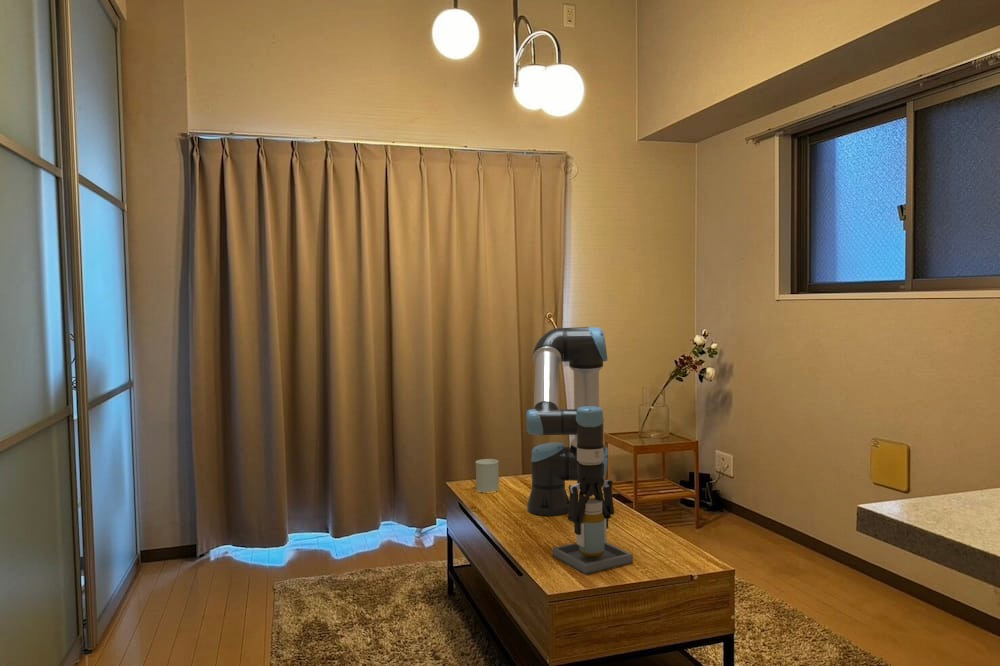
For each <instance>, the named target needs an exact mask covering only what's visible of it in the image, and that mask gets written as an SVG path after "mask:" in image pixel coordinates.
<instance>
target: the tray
mask: <svg viewBox="0 0 1000 666" xmlns="http://www.w3.org/2000/svg"><path fill="white" fill-rule="evenodd" d="M552 558H554V559H556V560H558V561H559V562H562V563H563V564H565V565H567V566H568V567H571V568H573V570H576V571H578V572H580V573H581V574H583V575H585V576H587V575H592V574H596V573H598V572H603V571H607V570H610V569H611V570H612V569H615V567H616V568H619V567H623V565H624V566H627V564H628V565H631V564H630V563H632V564H634V563H633V558H634V557H633V553H631V552H628V551H626V550H625V549H622V548H619V547H618V546H615V545H613V544H611V543H609V542H604V553H603V555H602V556H600V557H586V556H583V555H582V554H581V553H580V549H579V545H577V542H574V543H569V544H563V545H560V546H556V547H552Z"/></svg>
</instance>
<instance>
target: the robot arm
mask: <svg viewBox="0 0 1000 666" xmlns="http://www.w3.org/2000/svg"><path fill="white" fill-rule="evenodd" d="M607 351H608V350H607V345H606V338H605V333H604V330H603V329H602V328H601V327H596V326H595V327H593V326H584V327H583V326H580V327H579V326H578V327H556V328H554V329H551V330H549V331H547V332H546V333H544V335H542V336H541V338H540V339H539V340H538V341H537V342H536V344H535V346H534V349H533V352H532V361H533V365H535V372H534V373H535V374H534V393H533V394H534V395H533V396H534V398H533V400H534V401H533V408H532V409H528V410H526V415H525V416H526V417H525V419H526V425H525V426H526V431H527V434H529V435H532V436H534V435H536V436H559V435H561V436H562V435H565V436H569V435H570V436H574V438H573V439H572V440H571V441H570V446H566V445H565V443H564V442H561V441H560V442H558V441H557V442H556V441H555V442H554V441H553V442H544V443H541V444H538V445H536V446H534V447H533V448H532V450H531V459H530V462H531V490H530V494H529V496H528V497H529V498H528V501H527V508H526V509H527V512H529V511H530V512H532V513H531V514H533V513H534V515H536V514H539V515H538V516H543V515H546V516H547V517H549V516H550V517H552V516H553V517H554V516H555V517H556V516H560V515H564V514H567V520H568V521H569V522H571V523H573V524H574V525H573V526H574V527H573V528H574V532H573V533H574V534H576V543H577V545H579V546H581V547H585V543H584V523H582V519H583V515H584V512H585V508H586V503H587V501H588V500H589V498H591V497H592V496H593V498H595V499H597V500H599V501H601V500H602V513H603V516H604V542H607V538H608V537H607V535H608V534H607V533H608V532H607V529H609V520H610V519H611V518H612V516H611V515H614V514H615V508H614V500H613V499H614V498H613V489H612V488H613V480H610V479H607V478H606V475H607V470H608V464H609V463H608V462H609V459H608V458H609V448H608V447H606V446H605V442H604V423H605V421H604V420H605V418H604V410H603V408H602V407H600V371H601V370H602V368H603V367H604V362H607V361H608V352H607ZM562 362H565V363H566V362H567V363H568V362H569V363H568V366H569V368H570V369H571V370H572V372H573V396H574V397H573V399H574V400H573V401H574V402H573V403H574V404H573V406H574V407H573V408H574V409H573V408H571V409H568V408H567V409H563V408H561V409H559V366H560V364H561V363H562ZM566 481H567V482H575V481H577V482H576V484H572V485H571V484H570V485H568V490H569V496H568V493H567V490H566ZM530 512H529V513H530ZM546 516H545V517H546ZM607 543H608V542H607Z"/></svg>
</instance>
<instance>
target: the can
mask: <svg viewBox="0 0 1000 666" xmlns="http://www.w3.org/2000/svg"><path fill="white" fill-rule="evenodd" d="M499 475H500V473H499V460H498V459H493V458H484V459H482V458H481V459H478V460H476V461H475V479H476V480H475V491H476V490H477V491H480V492H491V491H496V490H498V489H499V490H500V485H499V483H500V482H499V478H500V477H499ZM477 491H476V492H477Z"/></svg>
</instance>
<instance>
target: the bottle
mask: <svg viewBox="0 0 1000 666" xmlns="http://www.w3.org/2000/svg"><path fill="white" fill-rule="evenodd" d="M582 523H584V543H585V547H581V546H579V549H580V553H581V554H582V555H583V556H586V557H600V556H602V555H603V553H604V516H603V513H602V500H601V501H599V500H597V499H595V497H590V498H589V500H588V501H587V503H586V508H585V512H584V515H583V519H582Z"/></svg>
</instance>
